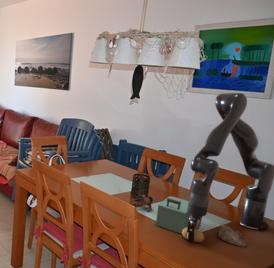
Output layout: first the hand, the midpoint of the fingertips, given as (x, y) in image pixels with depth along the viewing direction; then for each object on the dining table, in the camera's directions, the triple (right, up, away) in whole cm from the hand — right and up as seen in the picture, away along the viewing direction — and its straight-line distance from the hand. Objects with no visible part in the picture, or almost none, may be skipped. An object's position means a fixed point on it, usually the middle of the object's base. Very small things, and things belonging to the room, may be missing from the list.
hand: (192, 238), depth 147 cm
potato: (0, -1, 0) cm, 1 cm away
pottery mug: (-11, +6, +33) cm, 36 cm away
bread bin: (-1, +2, +15) cm, 16 cm away
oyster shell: (+19, -2, +3) cm, 20 cm away
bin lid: (-1, +12, +13) cm, 18 cm away
